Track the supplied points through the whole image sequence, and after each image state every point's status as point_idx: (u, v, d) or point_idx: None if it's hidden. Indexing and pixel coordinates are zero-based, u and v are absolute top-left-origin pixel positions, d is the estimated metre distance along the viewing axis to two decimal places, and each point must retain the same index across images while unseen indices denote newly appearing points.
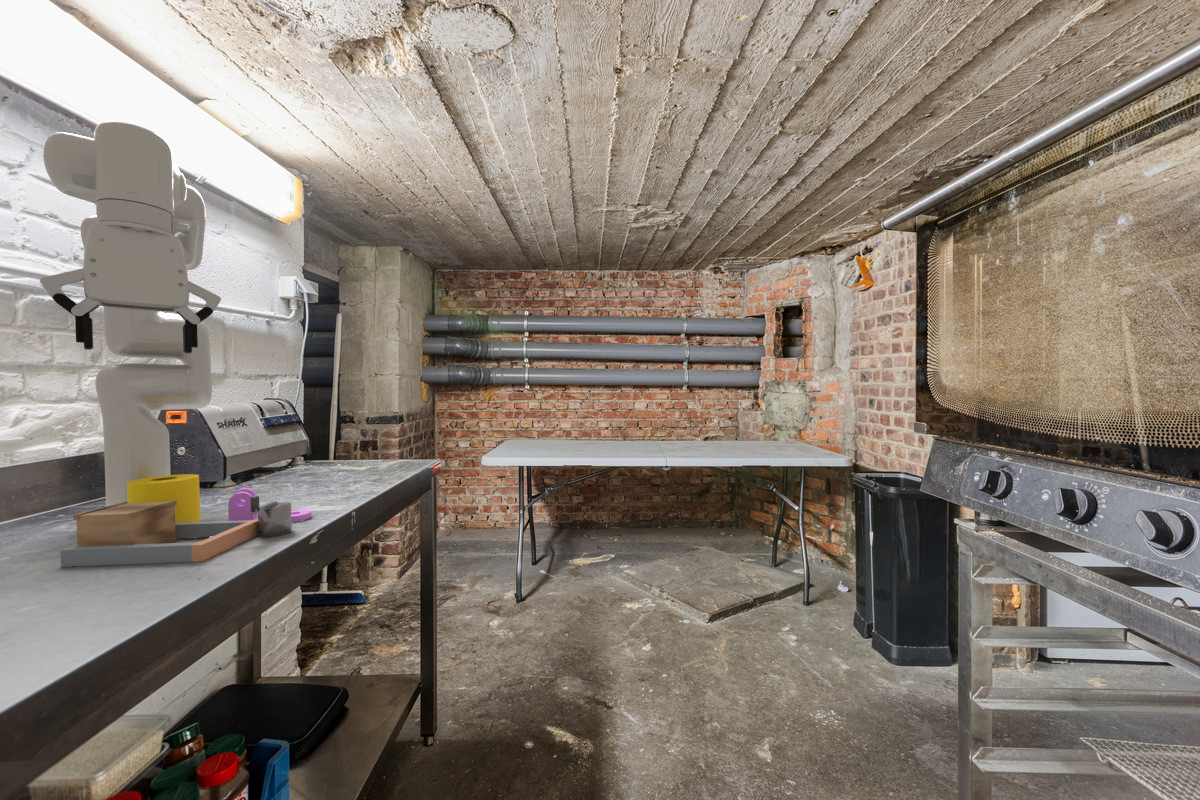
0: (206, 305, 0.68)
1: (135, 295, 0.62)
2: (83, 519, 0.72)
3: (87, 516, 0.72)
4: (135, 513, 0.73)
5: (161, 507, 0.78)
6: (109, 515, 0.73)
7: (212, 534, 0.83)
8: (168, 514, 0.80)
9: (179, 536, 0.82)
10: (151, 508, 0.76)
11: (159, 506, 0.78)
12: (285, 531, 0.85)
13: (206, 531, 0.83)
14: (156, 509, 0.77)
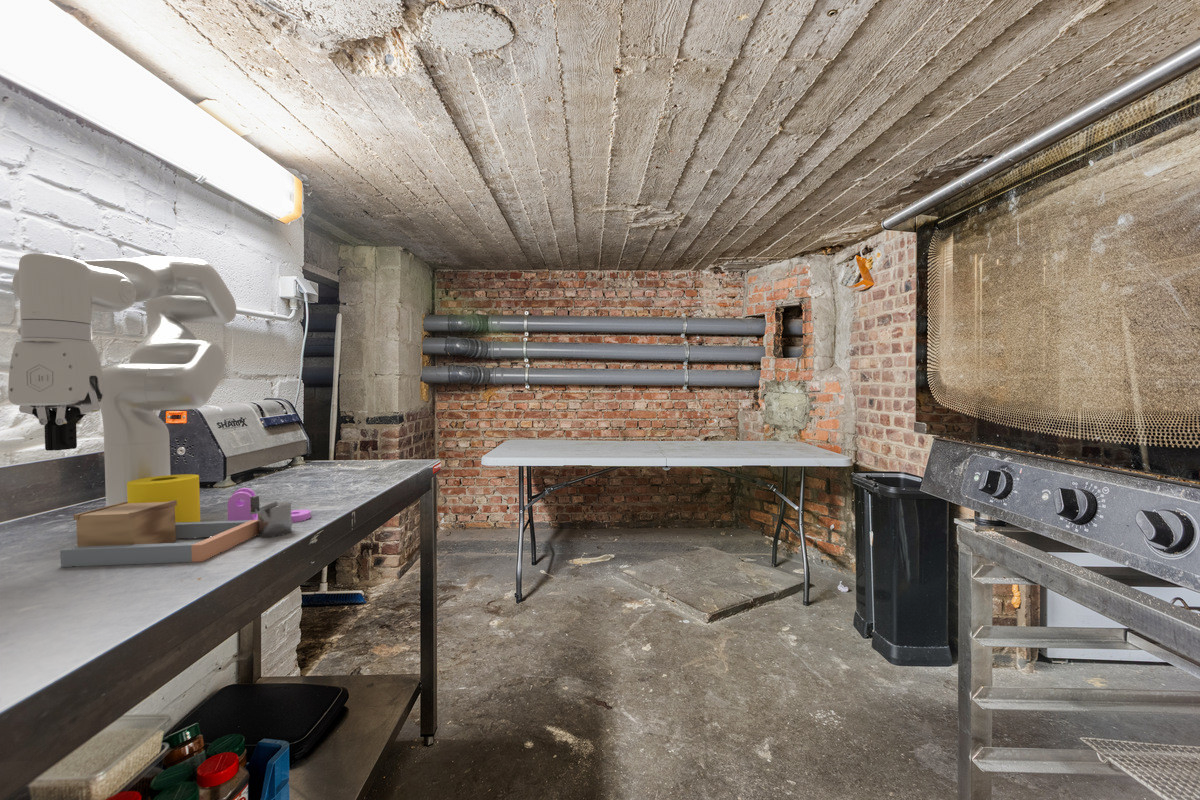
0: None
1: None
2: (83, 519, 0.72)
3: (87, 516, 0.72)
4: (135, 513, 0.73)
5: (161, 507, 0.78)
6: (109, 515, 0.73)
7: (212, 534, 0.83)
8: (168, 514, 0.80)
9: (179, 536, 0.82)
10: (151, 508, 0.76)
11: (159, 506, 0.78)
12: (285, 531, 0.85)
13: (206, 531, 0.83)
14: (156, 509, 0.77)
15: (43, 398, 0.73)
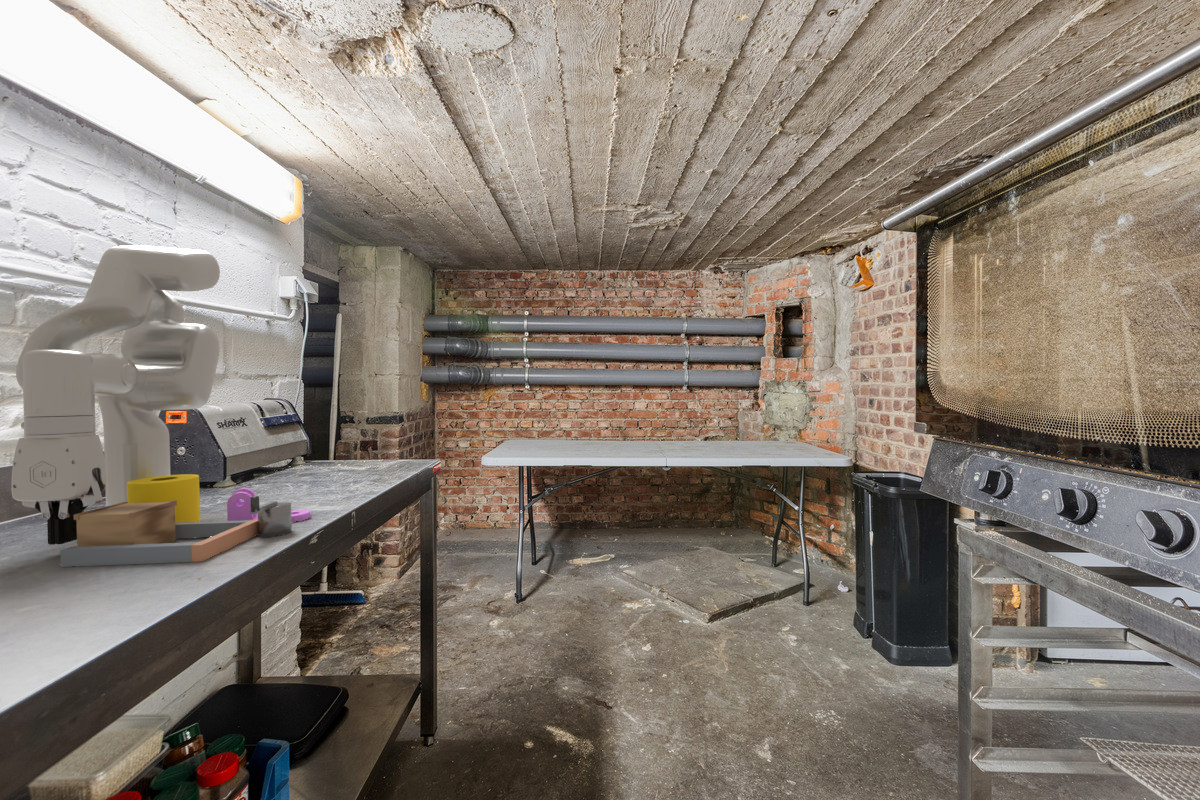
0: None
1: None
2: (83, 519, 0.72)
3: (87, 516, 0.72)
4: (135, 513, 0.73)
5: (161, 507, 0.78)
6: (109, 515, 0.73)
7: (212, 534, 0.83)
8: (168, 514, 0.80)
9: (179, 536, 0.82)
10: (151, 508, 0.76)
11: (159, 506, 0.78)
12: (285, 531, 0.85)
13: (206, 531, 0.83)
14: (156, 509, 0.77)
15: (46, 494, 0.73)
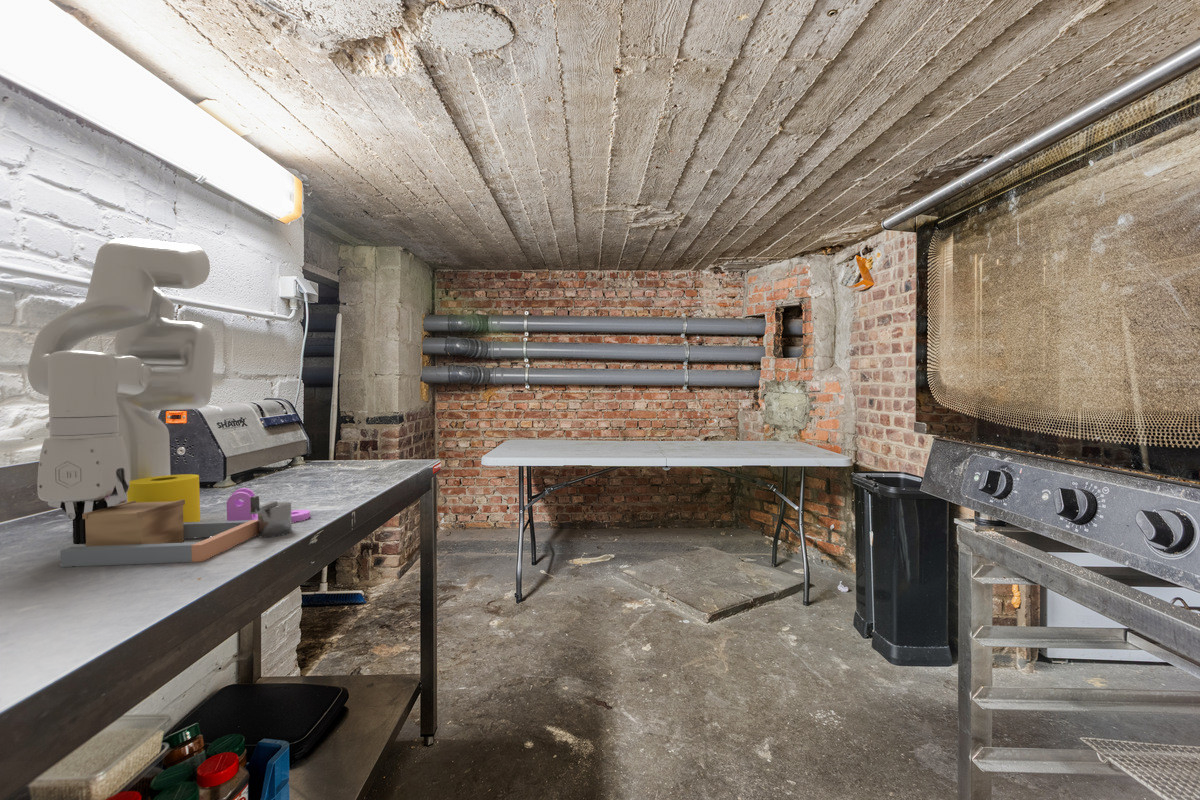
0: None
1: None
2: (92, 518, 0.72)
3: (96, 515, 0.72)
4: (143, 512, 0.73)
5: (169, 506, 0.78)
6: (117, 514, 0.73)
7: (212, 534, 0.83)
8: (176, 513, 0.79)
9: None
10: (159, 507, 0.76)
11: (167, 505, 0.77)
12: (285, 531, 0.85)
13: (206, 531, 0.83)
14: (164, 508, 0.77)
15: (71, 494, 0.73)
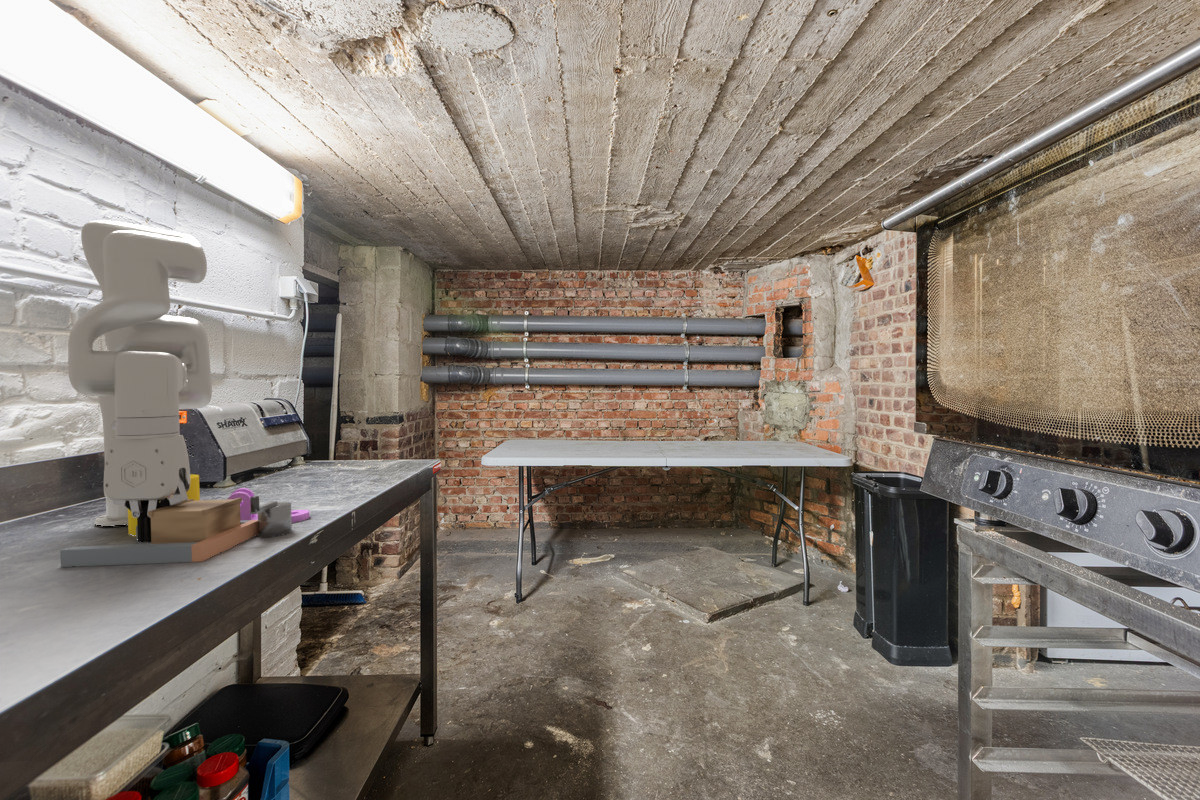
0: None
1: None
2: (157, 516, 0.73)
3: (161, 513, 0.73)
4: (208, 510, 0.74)
5: (229, 504, 0.79)
6: (182, 512, 0.74)
7: None
8: (234, 511, 0.81)
9: None
10: (221, 505, 0.77)
11: (227, 503, 0.79)
12: (285, 531, 0.85)
13: None
14: (225, 506, 0.78)
15: (137, 493, 0.74)
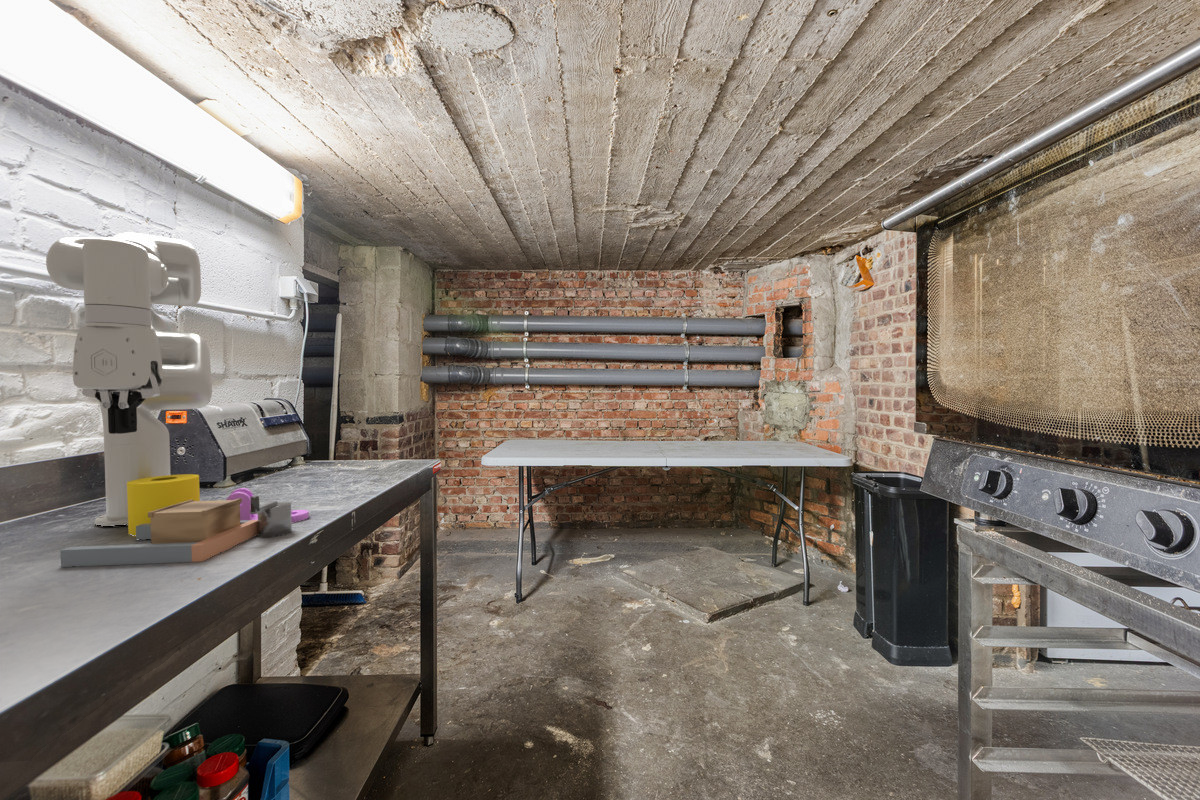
0: None
1: None
2: (157, 517, 0.73)
3: (161, 514, 0.73)
4: (207, 511, 0.74)
5: (229, 505, 0.79)
6: (182, 513, 0.74)
7: None
8: (234, 512, 0.81)
9: None
10: (221, 506, 0.77)
11: (227, 504, 0.79)
12: (285, 531, 0.85)
13: None
14: (225, 507, 0.78)
15: (107, 382, 0.74)
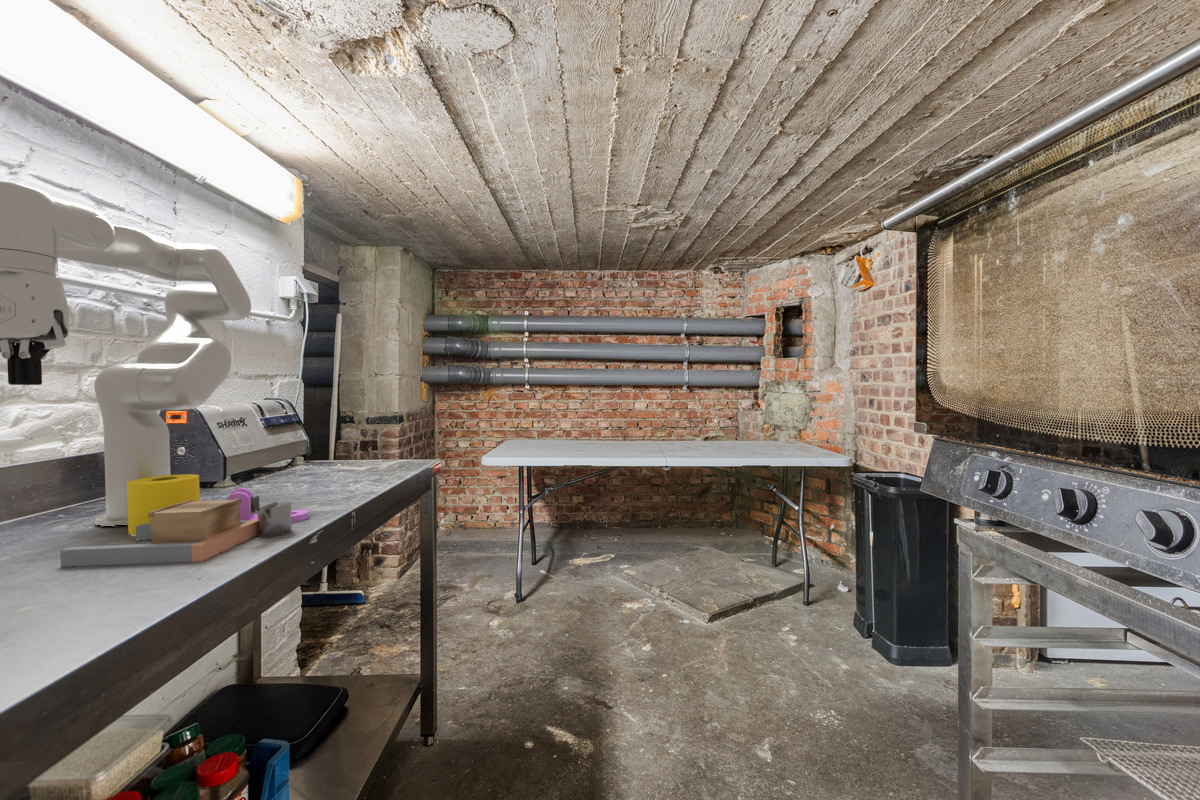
0: None
1: None
2: (157, 517, 0.73)
3: (161, 514, 0.73)
4: (207, 511, 0.74)
5: (229, 505, 0.79)
6: (182, 513, 0.74)
7: None
8: (234, 512, 0.81)
9: None
10: (221, 506, 0.77)
11: (227, 504, 0.79)
12: (285, 531, 0.85)
13: None
14: (225, 507, 0.78)
15: (5, 330, 0.71)
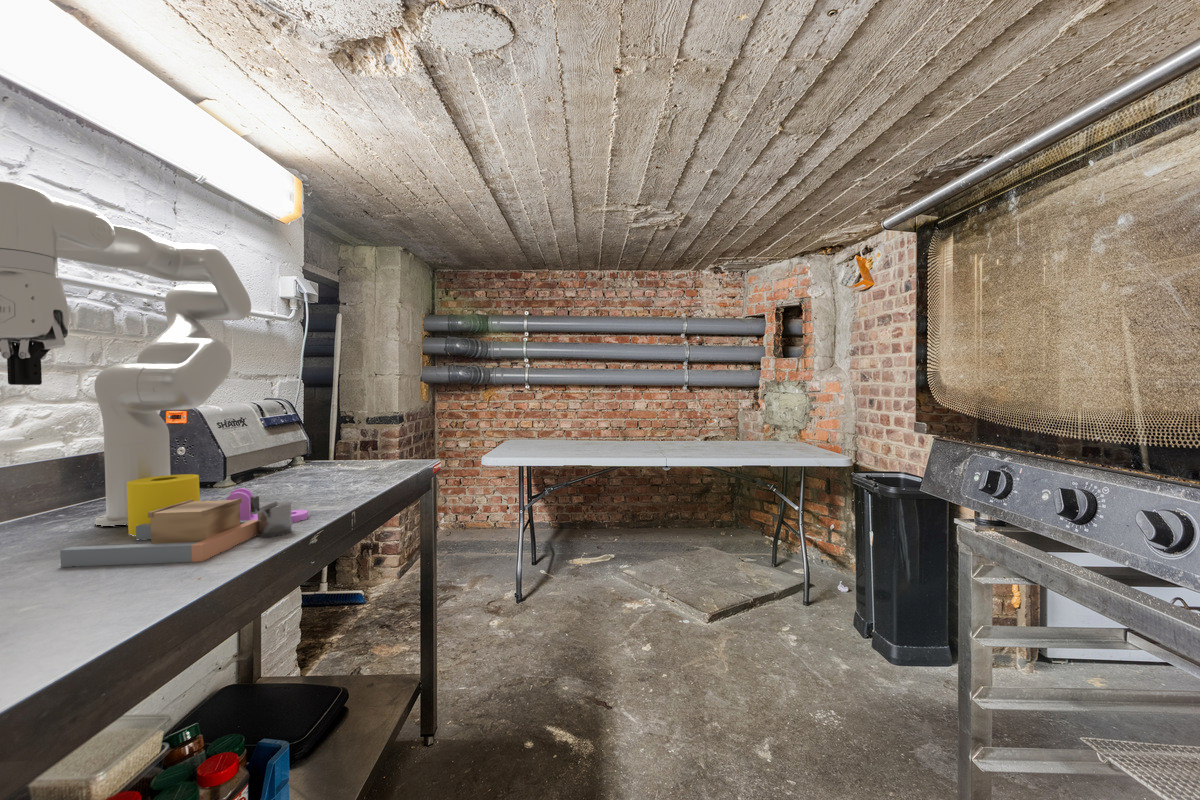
0: None
1: None
2: (157, 517, 0.73)
3: (161, 514, 0.73)
4: (207, 511, 0.74)
5: (229, 505, 0.79)
6: (182, 513, 0.74)
7: None
8: (234, 512, 0.81)
9: None
10: (220, 506, 0.77)
11: (227, 504, 0.79)
12: (285, 531, 0.85)
13: None
14: (225, 507, 0.78)
15: (5, 330, 0.71)
